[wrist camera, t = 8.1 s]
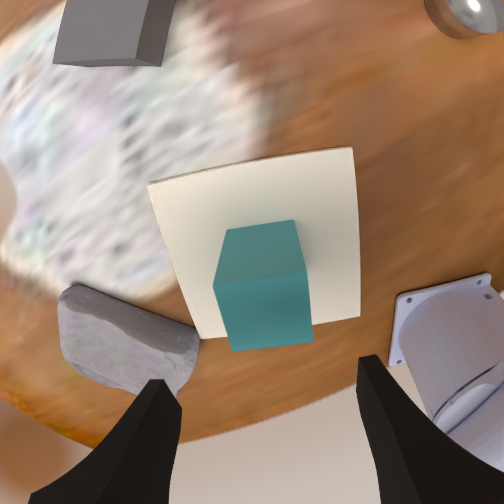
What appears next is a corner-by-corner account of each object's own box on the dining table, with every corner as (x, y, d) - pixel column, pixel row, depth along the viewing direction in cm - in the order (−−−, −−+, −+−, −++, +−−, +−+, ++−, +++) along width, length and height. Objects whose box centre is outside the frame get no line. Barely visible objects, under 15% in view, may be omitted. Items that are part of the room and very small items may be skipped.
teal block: (293, 219, 18) (307, 272, 12) (300, 276, 19) (313, 341, 14) (226, 229, 18) (212, 285, 13) (239, 285, 20) (232, 351, 15)
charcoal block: (178, -7, 12) (158, -32, 9) (161, 66, 14) (135, 58, 11) (105, -3, 12) (72, -19, 8) (89, 67, 14) (52, 63, 10)
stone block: (187, 376, 28) (210, 323, 22) (175, 418, 25) (194, 377, 19) (82, 333, 27) (72, 267, 21) (62, 369, 23) (41, 310, 17)
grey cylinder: (462, -8, 10) (496, -19, 6) (476, 42, 12) (513, 38, 8) (417, -18, 11) (447, -36, 7) (432, 35, 12) (467, 25, 9)
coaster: (349, 146, 16) (352, 147, 16) (358, 311, 21) (360, 316, 21) (150, 183, 17) (146, 185, 17) (201, 333, 23) (200, 339, 22)
